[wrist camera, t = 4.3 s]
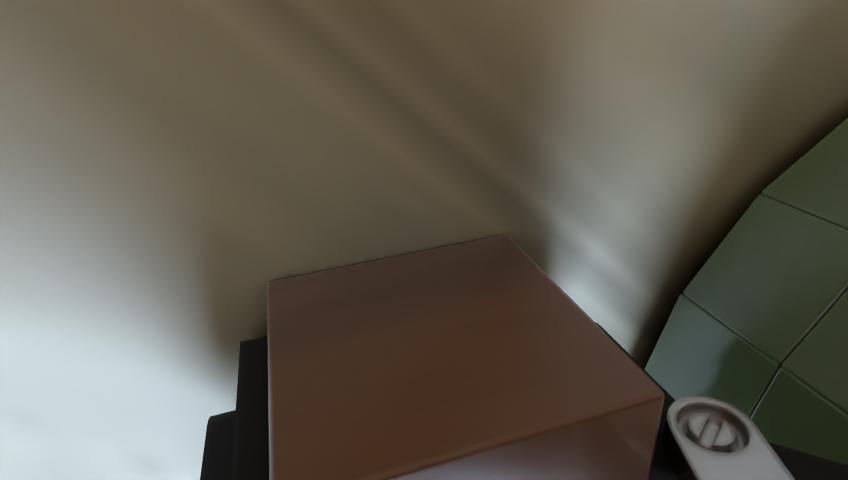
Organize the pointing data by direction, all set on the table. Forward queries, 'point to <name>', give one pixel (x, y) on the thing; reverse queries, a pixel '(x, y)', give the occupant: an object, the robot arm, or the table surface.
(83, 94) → the table surface
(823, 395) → the faceted green bowl
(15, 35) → the table surface
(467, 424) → the walnut block
